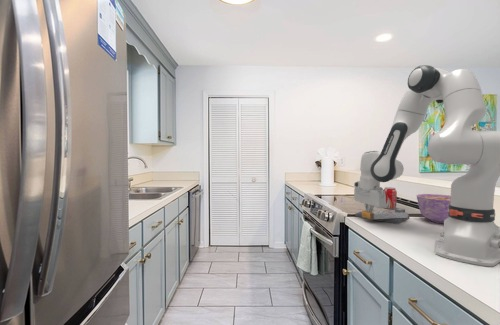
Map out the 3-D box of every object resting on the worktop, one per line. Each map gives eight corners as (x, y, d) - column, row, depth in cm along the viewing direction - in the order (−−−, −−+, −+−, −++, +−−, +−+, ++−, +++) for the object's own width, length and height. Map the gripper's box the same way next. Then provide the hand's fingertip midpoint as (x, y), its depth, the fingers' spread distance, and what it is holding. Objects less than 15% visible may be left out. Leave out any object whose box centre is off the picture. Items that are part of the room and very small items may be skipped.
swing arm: (408, 217, 131) (408, 210, 131) (370, 219, 127) (370, 211, 127) (398, 215, 137) (399, 207, 137) (362, 216, 133) (362, 209, 132)
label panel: (398, 223, 126) (398, 220, 126) (355, 216, 141) (355, 213, 141) (409, 218, 138) (409, 215, 138) (368, 212, 152) (368, 209, 152)
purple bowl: (437, 215, 144) (438, 193, 144) (478, 225, 125) (479, 199, 125) (405, 217, 139) (406, 194, 139) (443, 228, 120) (443, 201, 119)
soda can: (381, 207, 167) (381, 186, 167) (394, 207, 166) (394, 187, 166) (384, 209, 160) (385, 188, 160) (398, 209, 159) (398, 188, 159)
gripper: (390, 187, 124) (389, 218, 125) (363, 182, 144) (362, 209, 145) (377, 187, 123) (376, 219, 124) (352, 182, 143) (351, 209, 144)
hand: (368, 213), depth 135 cm, fingers closed
